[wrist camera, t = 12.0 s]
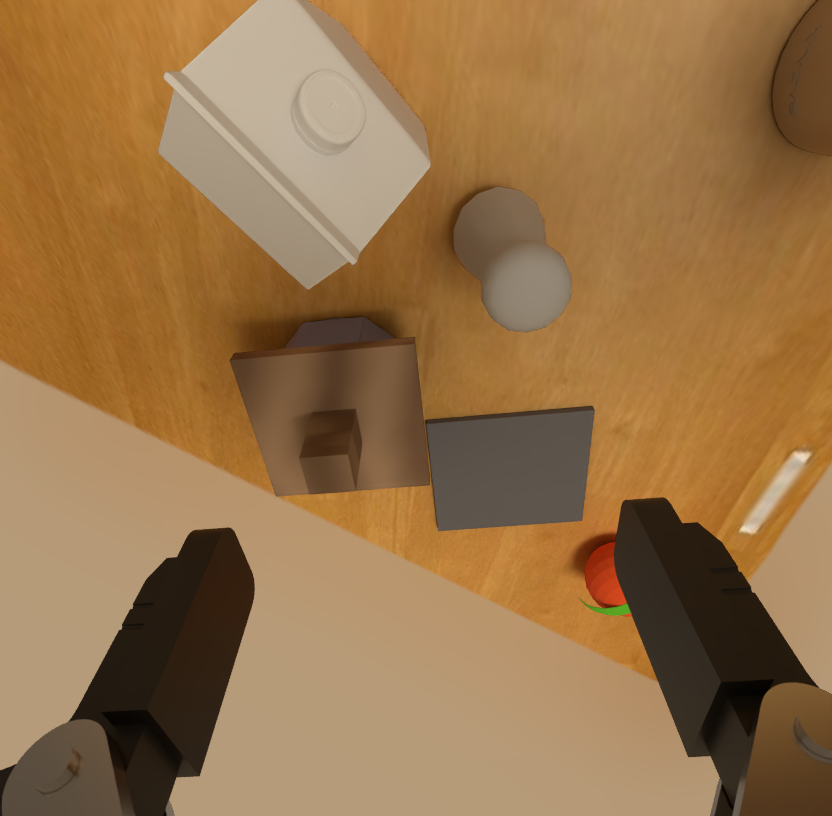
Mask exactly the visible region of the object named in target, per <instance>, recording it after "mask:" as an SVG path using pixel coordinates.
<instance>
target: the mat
mask: <svg viewBox="0 0 832 816" xmlns="http://www.w3.org/2000/svg"><path fill="white" fill-rule="evenodd" d="M594 411H595V410H594V408H593V406H588V407H576V408H564V409H552V410H540V411H528V412H516V413H504V414H492V415H480V416H468V417H456V418H444V419H432V420H426V425H427V434H428V443H429V452H430V461H431V470H432V479H433V488H434V497H435V506H436V516H437V525H438V531H446V530H460V529H474V528H488V527H502V526H516V525H530V524H545V523H559V522H573V521H582V517H583V508H584V499H585V490H586V481H587V472H588V464H589V455H590V446H591V437H592V428H593V419H594Z"/></svg>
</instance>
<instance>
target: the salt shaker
mask: <svg viewBox="0 0 832 816" xmlns="http://www.w3.org/2000/svg"><path fill="white" fill-rule="evenodd" d="M454 251H455V253H456V255H457V256H458V258H459V260H460V262H461V263H462V265H463V267H464V268H465V269H467V270H468V271H469V272H470V273H471V274H472V275H474V276H475V277H476V278H477V279H478V280H480V281H481V298H482V302H483V304H484V306H485V308H486V309H487V311H488V313H489V315H490V316H491V318H492V319H493V320H494V321H495V322H497V323H498V324H500V325H501V326H503V327H504V328H506V329H507V330H510V331H519V332H530V331H534V330H538V329H541V328H545V327H546V326H548V325H549V324H550V323H551V322H553V321H554V320H555V319H556V318H558V317H559V316H560V315H561V314H562V312H563V310H564V309H565V307H566V305H567V303H568V302H569V300H570V297H571V284H572V279H571V274H570V272H569V269H568V267H567V265H566V262H565V260H564V257H563V256H562V255H561V254H560V253H558V252H557V251H555V250H554V249H553V248H551V247H550V246H549V245H547V244H546V236H545V225H544V220H543V218H542V215H541V213H540V211H539V208H538V206H537V204H536V202H535V201H533V200H532V199H531V198H529V197H528V196H527V195H525V194H524V193H523V192H521V191H520V190H516V189H510V188H504V187H495V188H492V189H489V190H486V191H484V192H481V193H478V194H477V195H476V196H475V197H473V198H472V199H471V200H470V201H469V202H468V203H467V204H466V205H465V206H464V207H463V208H462V209H461V211H460V214H459V217H458V219H457V222H456V224H455V227H454Z"/></svg>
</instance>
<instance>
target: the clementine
mask: <svg viewBox="0 0 832 816" xmlns="http://www.w3.org/2000/svg"><path fill="white" fill-rule="evenodd" d="M614 547H615V542H611V543H607V544H605V545H602V546H600V547H599V548H597V549H596V550H595V551H594V552H593V553H592V554H591V556H590V557H589V559H588V561H587V563H586V567H585V581H586V587H587V589H588V591H589V593H590V595H591V596H592V598H593V599H594V600H595V602H596V603H597V604H598V605H599V606H601V607H602V608H597V607H592V606H590V605H587V604H585V603H584V602H583V601H582V600H581V599H580V598H579V599H580V600H581V601H582V602H583V603H584V604H585V605H586V606H587V607H589V608H590V609H592V610H593V611H596V612H599V613H602V614H606V615H620V616H632V614H631V612H630V609H629V607H628V604H627V602H626V599H625V597H624V594H623V592H622V589H621V587H620V584H619V582H618V579H617V575H616V571H615V565H614Z"/></svg>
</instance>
